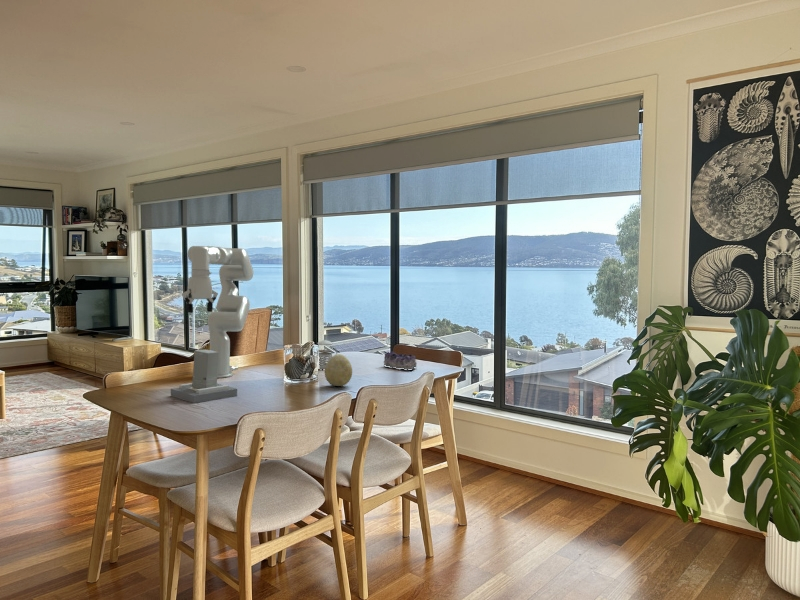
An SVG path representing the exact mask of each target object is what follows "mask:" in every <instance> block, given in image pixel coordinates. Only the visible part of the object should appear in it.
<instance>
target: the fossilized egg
mask: <svg viewBox="0 0 800 600" xmlns="http://www.w3.org/2000/svg"><path fill="white" fill-rule="evenodd" d="M327 361H328V360H327ZM326 363H327V364H326V366H325V370H324V377H325V380H326V381H327V383H329V385H331V386H332V387H335V386H341V387H344V386H345V385H347V384H348V383H349V382H350V381H351V379H352V376H353V367H352V364H351V362H350V360H349V359H348V358H347V357H346V356H345V355H343V354H340V353H337V354H336V353H335V354H334V355H332V357H331V358H330V359H329V361H328V362H326ZM343 385H344V386H343Z"/></svg>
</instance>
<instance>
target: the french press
mask: <svg viewBox="0 0 800 600" xmlns="http://www.w3.org/2000/svg"><path fill="white" fill-rule="evenodd" d="M323 325H324V326H327V325H328V323H327V322H325V321H324V322H323ZM317 345H318V346H330V348H331V349H334V350H335V355H336V354H338V349H337V348H336V347H335V346H334V345H333V342H332V341H330V340H327V339H323V340H320V341H318V342H317ZM331 349H319V352H318V353H319V357H320V359H319V361H320V362H319V363H320V364H319V365H320V369H325V366H326V364H327V362H328V361H329V359H330V358H331V357H333V353H332V350H331Z"/></svg>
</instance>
